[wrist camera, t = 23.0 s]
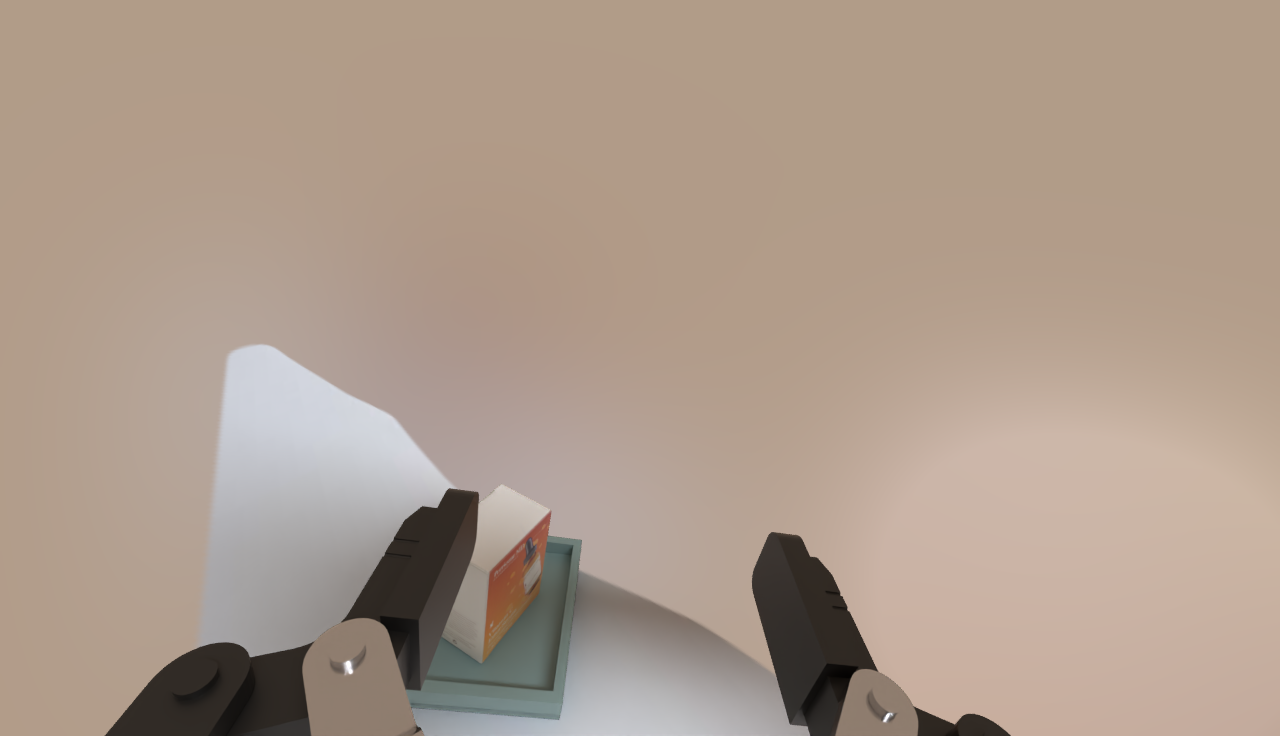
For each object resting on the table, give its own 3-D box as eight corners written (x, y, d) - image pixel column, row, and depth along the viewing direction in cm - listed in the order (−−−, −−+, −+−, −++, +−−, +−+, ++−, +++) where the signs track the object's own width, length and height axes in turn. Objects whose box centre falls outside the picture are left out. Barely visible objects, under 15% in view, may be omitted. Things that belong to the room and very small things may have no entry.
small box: (481, 667, 36) (487, 575, 32) (428, 630, 38) (427, 539, 33) (541, 592, 43) (554, 508, 38) (495, 564, 45) (501, 481, 40)
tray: (579, 554, 48) (581, 540, 48) (559, 719, 34) (562, 703, 33) (439, 537, 47) (439, 522, 46) (358, 703, 33) (355, 685, 32)
